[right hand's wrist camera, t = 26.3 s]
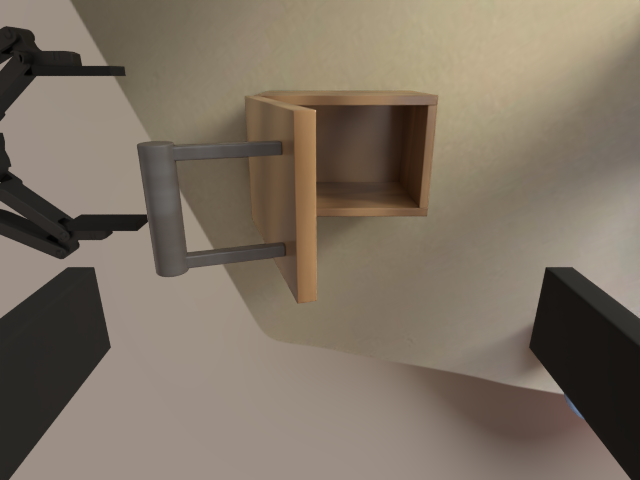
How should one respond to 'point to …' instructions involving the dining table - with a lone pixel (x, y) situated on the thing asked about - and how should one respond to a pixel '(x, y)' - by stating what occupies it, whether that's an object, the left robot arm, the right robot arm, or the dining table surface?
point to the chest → (370, 150)
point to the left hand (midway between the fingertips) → (131, 151)
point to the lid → (266, 195)
